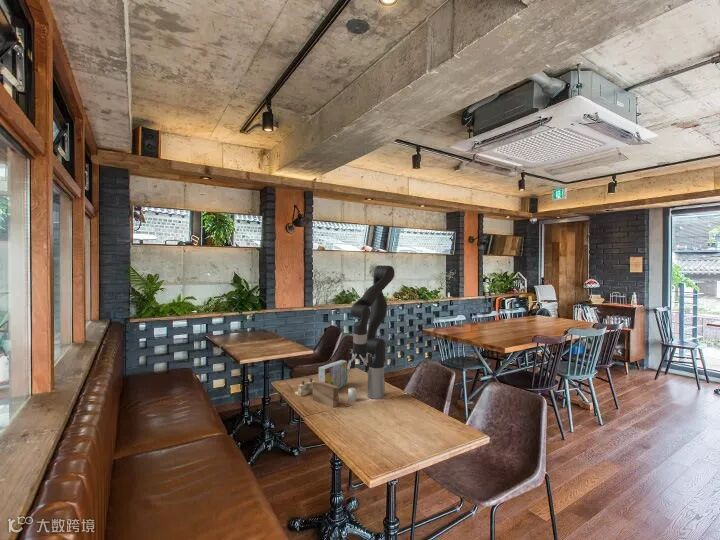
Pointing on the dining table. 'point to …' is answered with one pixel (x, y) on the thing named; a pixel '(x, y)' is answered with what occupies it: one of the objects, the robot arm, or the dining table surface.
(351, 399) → the white rounded piece
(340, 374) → the snack box
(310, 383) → the bench stop
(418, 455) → the dining table surface
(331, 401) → the brown rectangular block
